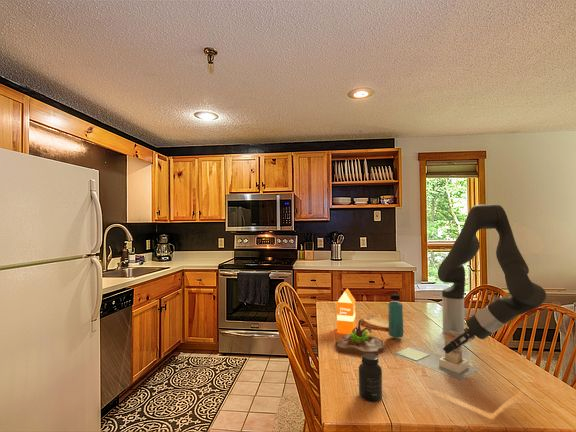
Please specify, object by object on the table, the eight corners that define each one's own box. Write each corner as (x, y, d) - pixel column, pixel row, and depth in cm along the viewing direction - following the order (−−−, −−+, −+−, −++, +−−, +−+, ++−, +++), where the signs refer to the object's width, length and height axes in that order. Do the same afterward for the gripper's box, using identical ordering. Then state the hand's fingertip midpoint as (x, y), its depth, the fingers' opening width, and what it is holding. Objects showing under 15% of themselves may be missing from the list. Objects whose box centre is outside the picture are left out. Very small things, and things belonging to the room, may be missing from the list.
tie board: (412, 348, 133) (412, 339, 133) (479, 371, 112) (479, 361, 112) (392, 356, 125) (392, 347, 125) (459, 383, 104) (459, 372, 104)
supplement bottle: (356, 390, 99) (355, 352, 99) (377, 389, 100) (376, 351, 100) (363, 403, 92) (362, 361, 93) (385, 402, 93) (385, 360, 93)
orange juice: (355, 328, 158) (355, 288, 159) (353, 334, 150) (352, 291, 151) (339, 327, 161) (339, 287, 162) (336, 332, 153) (336, 290, 153)
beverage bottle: (404, 341, 141) (404, 296, 141) (389, 340, 142) (388, 295, 142) (402, 336, 147) (401, 293, 148) (387, 335, 148) (387, 292, 149)
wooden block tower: (450, 363, 116) (450, 330, 117) (462, 367, 113) (461, 333, 113) (445, 366, 114) (444, 332, 114) (456, 370, 111) (456, 335, 111)
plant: (388, 343, 140) (387, 317, 140) (379, 360, 122) (379, 331, 123) (343, 336, 149) (343, 312, 149) (329, 351, 131) (329, 323, 132)
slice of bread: (402, 332, 155) (401, 324, 155) (364, 331, 155) (364, 323, 155) (391, 320, 173) (391, 313, 173) (357, 320, 173) (357, 313, 173)
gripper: (481, 308, 114) (446, 334, 122) (470, 317, 104) (433, 344, 112) (499, 326, 110) (462, 352, 118) (489, 337, 100) (449, 364, 108)
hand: (448, 348), depth 115 cm, fingers open, 5 cm apart
